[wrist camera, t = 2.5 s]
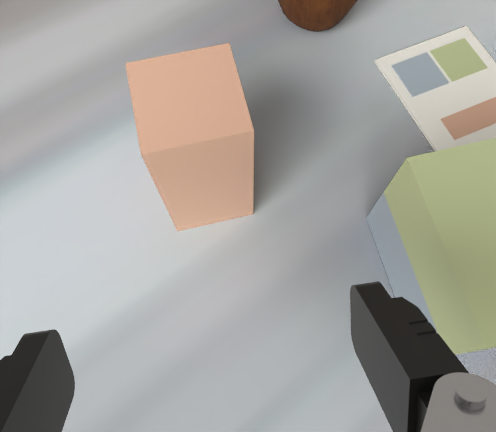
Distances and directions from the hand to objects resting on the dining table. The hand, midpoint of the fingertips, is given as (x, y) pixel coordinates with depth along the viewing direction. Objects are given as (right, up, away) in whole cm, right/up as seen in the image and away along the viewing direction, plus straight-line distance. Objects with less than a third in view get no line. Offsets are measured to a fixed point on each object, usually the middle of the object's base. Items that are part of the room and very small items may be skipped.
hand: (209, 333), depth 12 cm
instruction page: (+16, +12, +20) cm, 28 cm away
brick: (-2, +5, +17) cm, 18 cm away
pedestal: (+14, 0, +15) cm, 21 cm away
